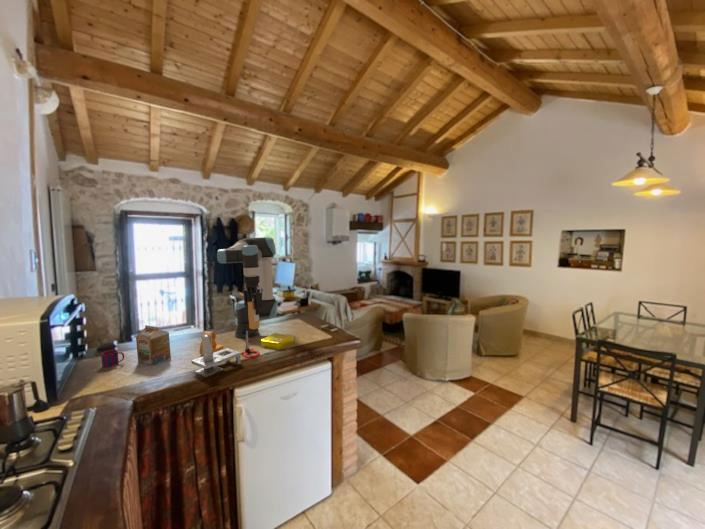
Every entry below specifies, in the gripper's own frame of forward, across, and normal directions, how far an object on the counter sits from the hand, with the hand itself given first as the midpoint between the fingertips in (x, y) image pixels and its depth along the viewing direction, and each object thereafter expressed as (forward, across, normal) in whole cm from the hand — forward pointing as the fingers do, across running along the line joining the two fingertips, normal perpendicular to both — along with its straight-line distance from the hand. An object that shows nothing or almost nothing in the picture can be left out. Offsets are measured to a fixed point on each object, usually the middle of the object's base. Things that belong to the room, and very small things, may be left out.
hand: (253, 320), depth 157 cm
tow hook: (+22, -10, +4) cm, 25 cm away
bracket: (+22, -32, -5) cm, 39 cm away
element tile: (+23, -10, +24) cm, 34 cm away
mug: (+22, -61, -42) cm, 77 cm away
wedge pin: (+4, 0, 0) cm, 4 cm away
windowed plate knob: (+22, -10, -16) cm, 29 cm away
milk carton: (+22, -48, -28) cm, 60 cm away
